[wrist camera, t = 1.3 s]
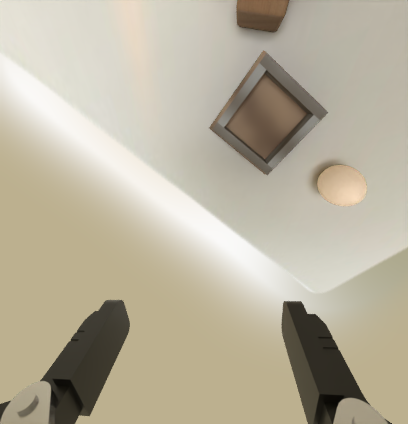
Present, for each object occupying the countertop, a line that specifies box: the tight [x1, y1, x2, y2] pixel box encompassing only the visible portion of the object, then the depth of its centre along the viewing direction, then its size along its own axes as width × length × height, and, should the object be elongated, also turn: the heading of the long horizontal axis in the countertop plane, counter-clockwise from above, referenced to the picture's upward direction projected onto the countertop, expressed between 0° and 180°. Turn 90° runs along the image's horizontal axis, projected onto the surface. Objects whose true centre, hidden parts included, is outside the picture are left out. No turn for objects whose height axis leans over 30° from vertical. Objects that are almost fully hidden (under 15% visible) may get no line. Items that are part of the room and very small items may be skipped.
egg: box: [317, 165, 367, 206], centre depth 25 cm, size 5×5×7 cm
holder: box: [210, 50, 328, 175], centre depth 25 cm, size 10×10×4 cm
